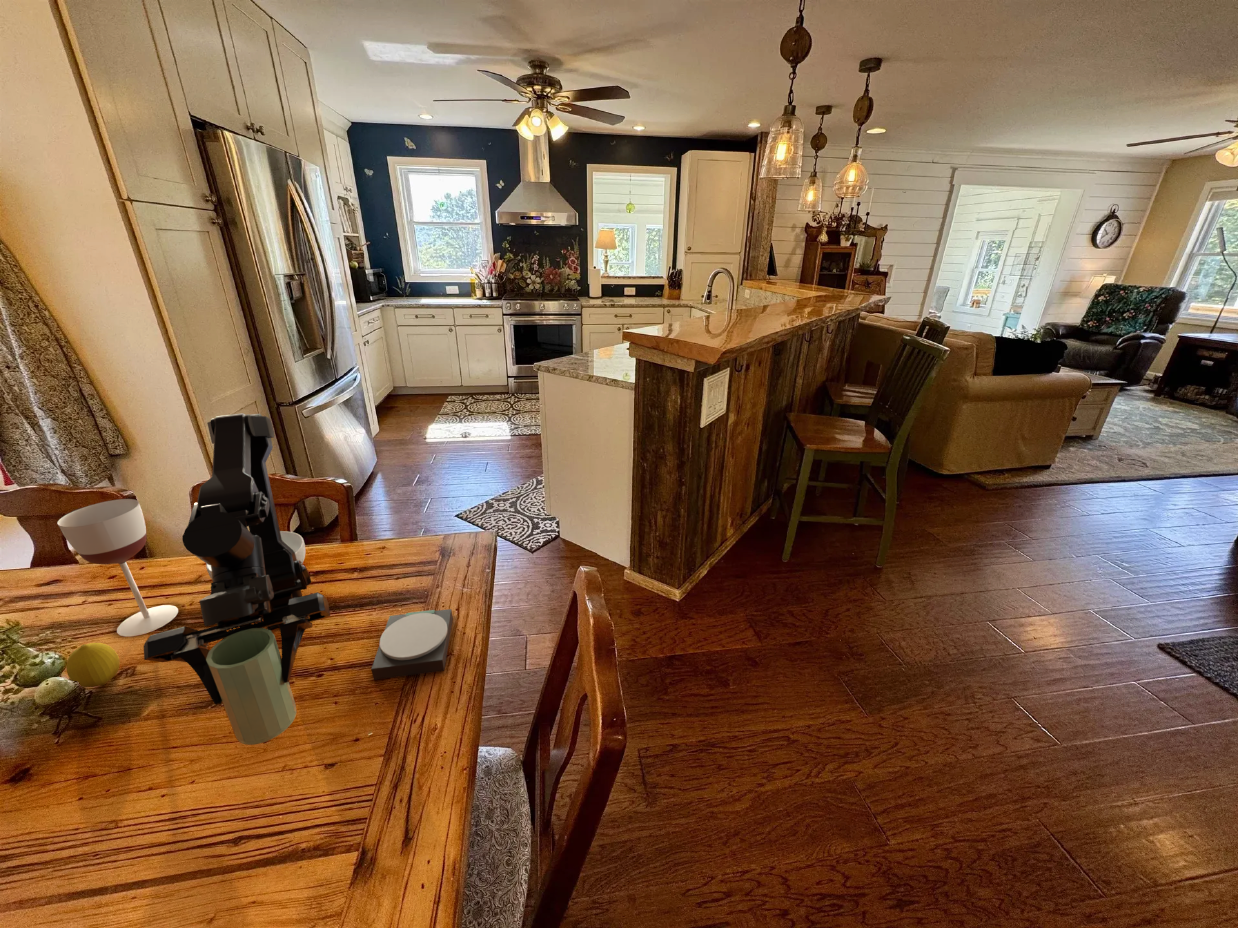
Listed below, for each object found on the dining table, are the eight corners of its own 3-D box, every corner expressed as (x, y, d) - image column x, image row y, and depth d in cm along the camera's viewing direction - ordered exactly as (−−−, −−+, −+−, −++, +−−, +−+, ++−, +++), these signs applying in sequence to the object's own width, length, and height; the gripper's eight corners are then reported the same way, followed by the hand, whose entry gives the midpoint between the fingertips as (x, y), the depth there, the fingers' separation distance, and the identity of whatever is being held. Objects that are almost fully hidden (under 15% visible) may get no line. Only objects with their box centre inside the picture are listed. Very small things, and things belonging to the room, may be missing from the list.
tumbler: (228, 723, 66) (199, 648, 60) (286, 692, 70) (263, 620, 65) (244, 755, 62) (215, 677, 56) (304, 720, 66) (282, 645, 61)
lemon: (97, 701, 76) (75, 661, 72) (69, 694, 77) (47, 655, 73) (136, 673, 81) (117, 635, 77) (109, 668, 82) (90, 630, 78)
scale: (391, 625, 92) (388, 613, 91) (452, 618, 94) (451, 606, 93) (373, 680, 80) (370, 666, 79) (444, 670, 82) (441, 657, 81)
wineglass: (100, 630, 90) (45, 520, 81) (164, 598, 98) (120, 495, 89) (130, 644, 86) (75, 531, 78) (193, 610, 95) (151, 504, 86)
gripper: (117, 582, 56) (123, 727, 51) (308, 541, 64) (328, 662, 60) (160, 599, 65) (168, 722, 61) (321, 561, 74) (339, 667, 69)
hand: (253, 693), depth 62 cm, fingers closed on tumbler, 7 cm apart
